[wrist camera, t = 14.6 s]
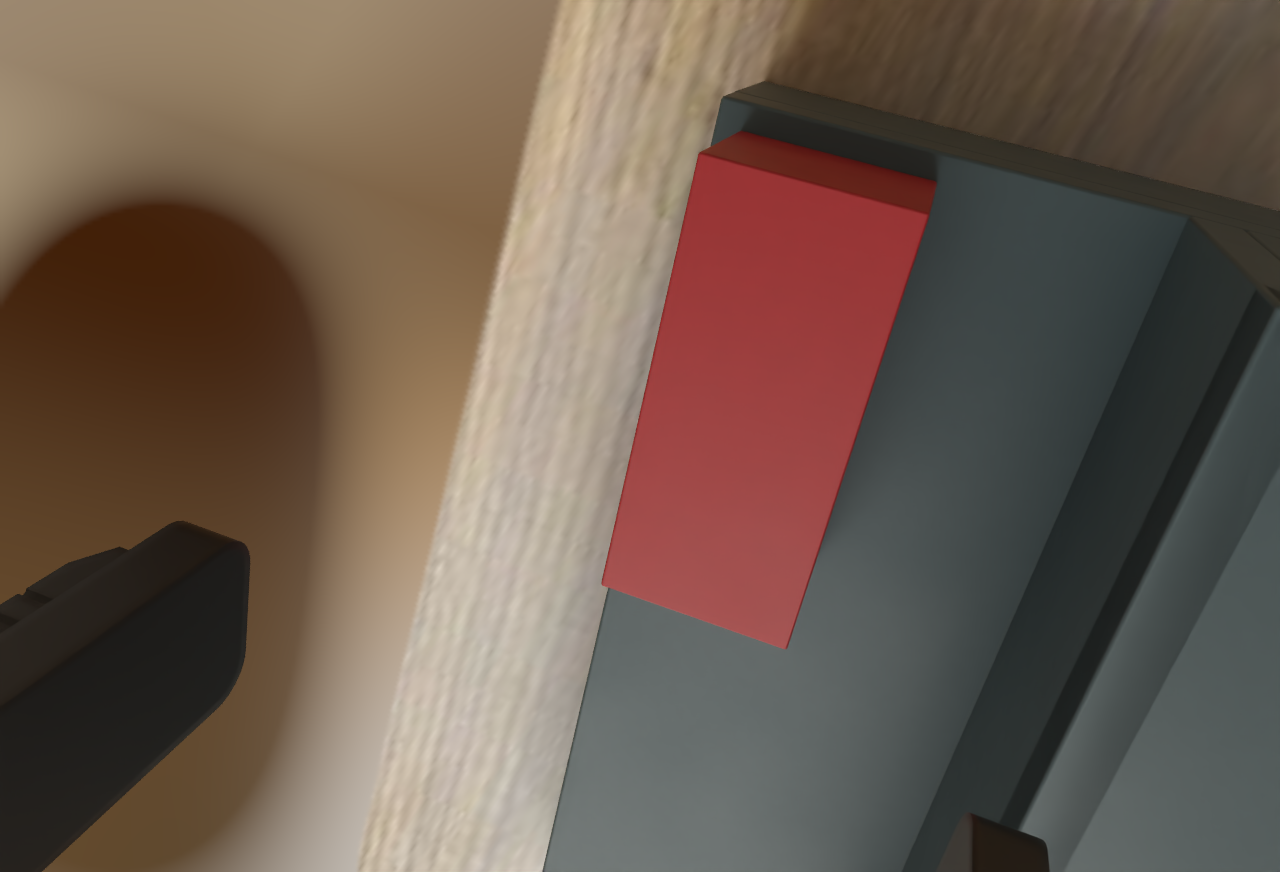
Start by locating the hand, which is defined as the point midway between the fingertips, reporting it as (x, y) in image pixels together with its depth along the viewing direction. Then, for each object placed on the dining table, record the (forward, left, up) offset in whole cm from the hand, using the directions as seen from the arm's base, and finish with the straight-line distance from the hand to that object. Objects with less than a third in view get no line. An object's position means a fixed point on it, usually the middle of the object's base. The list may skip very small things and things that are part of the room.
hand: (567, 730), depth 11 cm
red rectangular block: (0, 0, -13) cm, 13 cm away
